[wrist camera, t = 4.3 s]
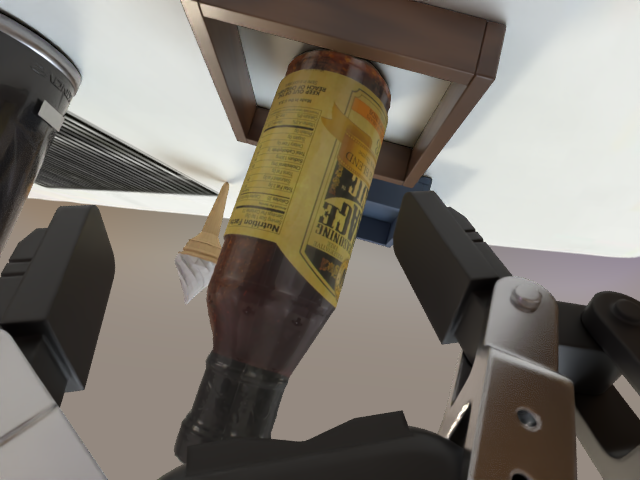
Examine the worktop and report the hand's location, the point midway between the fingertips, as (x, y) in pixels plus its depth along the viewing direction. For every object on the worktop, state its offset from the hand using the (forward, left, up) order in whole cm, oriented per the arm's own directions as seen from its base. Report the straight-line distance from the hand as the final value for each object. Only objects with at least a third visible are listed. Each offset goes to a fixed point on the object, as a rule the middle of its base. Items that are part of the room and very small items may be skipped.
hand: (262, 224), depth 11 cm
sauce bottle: (0, -9, -11) cm, 14 cm away
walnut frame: (0, -9, -11) cm, 14 cm away
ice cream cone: (-12, -35, -11) cm, 39 cm away
